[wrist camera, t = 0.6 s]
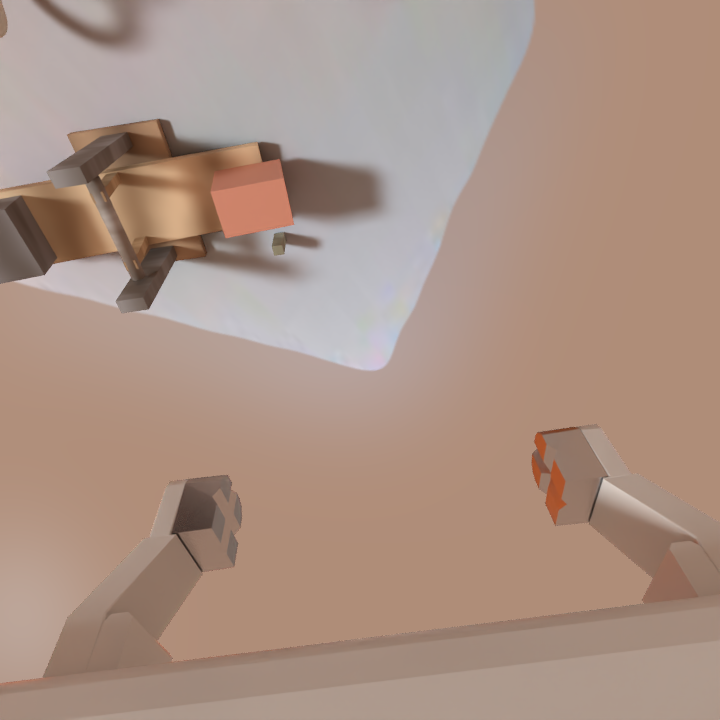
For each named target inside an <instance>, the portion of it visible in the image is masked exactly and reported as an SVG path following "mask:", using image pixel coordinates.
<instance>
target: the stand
mask: <svg viewBox="0 0 720 720" xmlns="http://www.w3.org/2000/svg"><path fill="white" fill-rule="evenodd" d="M67 136H68V138H69V140H70V142H71V144H72V146H73V148H74V150H75V153H74V154H73V155H71V156H70V157H68V158H67V159H65V160H64V161H62V162H61V163H59V164H58V165H56V166H55V167H53V168H52V169H50V170H49V171H47V174H48V176H49V177H50V179H51V181H52V183H53V185H54V187H55V189H58V188H64V187H71V186H77V185H84V184H88V183H89V182H91V181H92V180H93V179H94V178H95V177H97V176H98V175H99V174H100V173H102V172H103V171H104V170H108V169H113V168H119V167H124V166H129V165H135V164H140V163H146V162H151V161H156V160H162V159H167V158H172V155H171V152H170V149H169V147H168V144H167V141H166V138H165V135H164V133H163V130H162V127H161V124H160V122H159V119H155V120H148V121H142V122H136V123H130V124H123V125H117V126H111V127H104V128H98V129H92V130H85V131H79V132H73V133H70V134H68V135H67ZM285 245H286V239H285V235H284V232H282V233H276V234H274V238H273V243H272V249H273V252H274V256H275V255H282V254H284V252H285ZM206 254H207V252H206V249H205V246H204V243H203V241H202V238H201V235H197V236H192V237H187V238H182V239H177V240H172V241H166V242H161V243H156V244H151V245H148V247H147V250H146V252H145V255H144V257H143V259H142V262H141V266H142V269H143V271H144V273H145V275H146V276H145V277H144V278H143V279H140V280H137V281H134V280H132V278H131V279H130V280H129V282H128V283H127V285H126V286H125V288H124V289H123V291H122V292H121V294H120V296H119V297H118V299H117V300H116V303H117V305H118V307H119V309H120V311H121V313H127V312H133V311H140V310H147V309H149V308H150V306H151V304H152V302H153V301H154V299H155V297H156V295H157V293H158V291H159V289H160V288H161V286H162V284H163V282H164V280H165V278H166V277H167V275H168V273H169V271H170V269H171V267H172V265H173V264H174V262H175V261H178V260H185V259H191V258H198V257H205V256H206Z"/></svg>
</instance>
